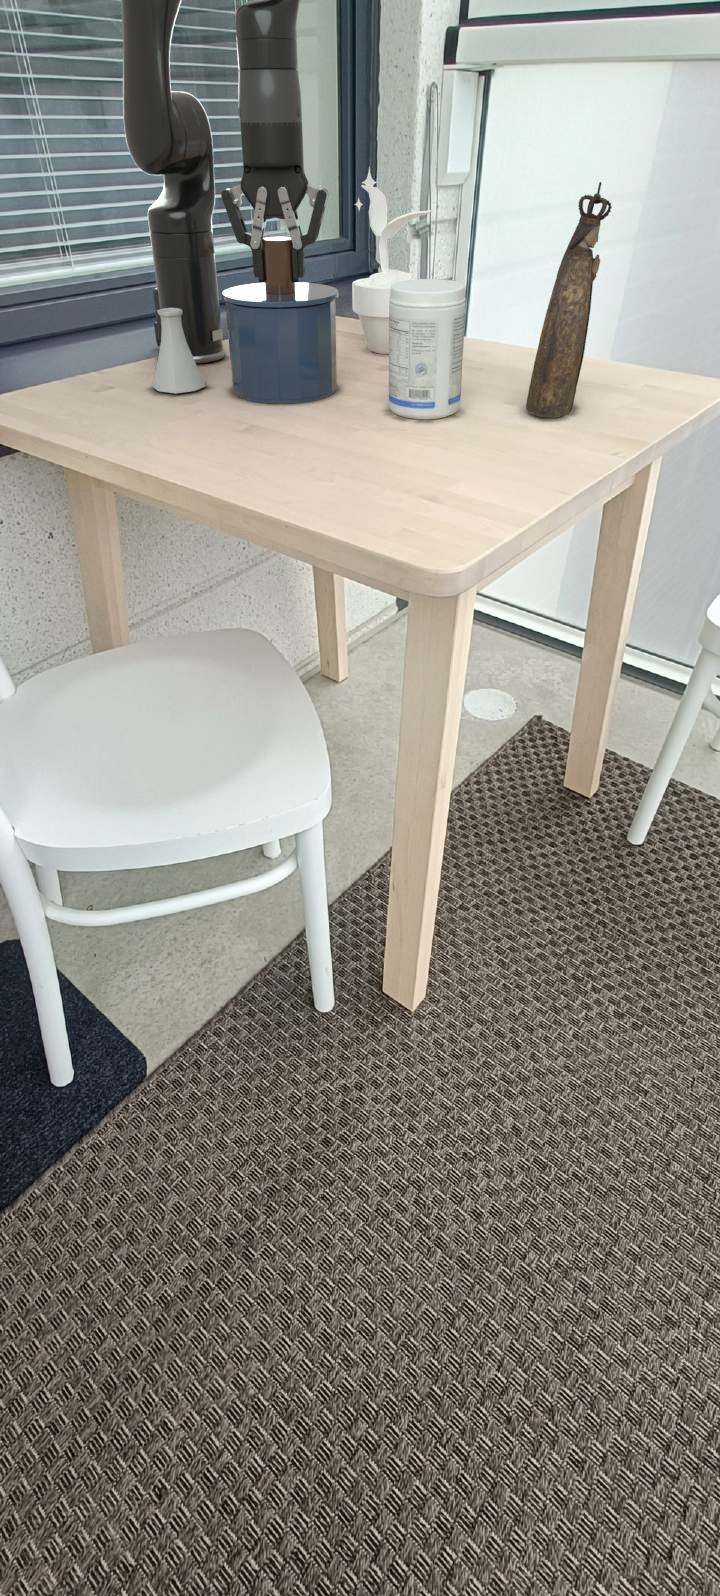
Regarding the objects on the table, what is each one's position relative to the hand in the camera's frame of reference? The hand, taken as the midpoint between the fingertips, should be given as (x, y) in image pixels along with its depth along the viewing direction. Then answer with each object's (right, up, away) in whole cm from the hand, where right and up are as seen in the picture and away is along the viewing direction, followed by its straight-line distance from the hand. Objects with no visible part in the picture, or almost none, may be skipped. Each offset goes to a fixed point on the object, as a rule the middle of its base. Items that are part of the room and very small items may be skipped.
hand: (279, 281), depth 116 cm
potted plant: (+16, +5, +28) cm, 32 cm away
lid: (0, -1, +1) cm, 2 cm away
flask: (-15, -10, +9) cm, 21 cm away
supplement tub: (+19, -18, 0) cm, 26 cm away
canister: (0, -11, +8) cm, 14 cm away
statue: (+36, -17, 0) cm, 40 cm away
